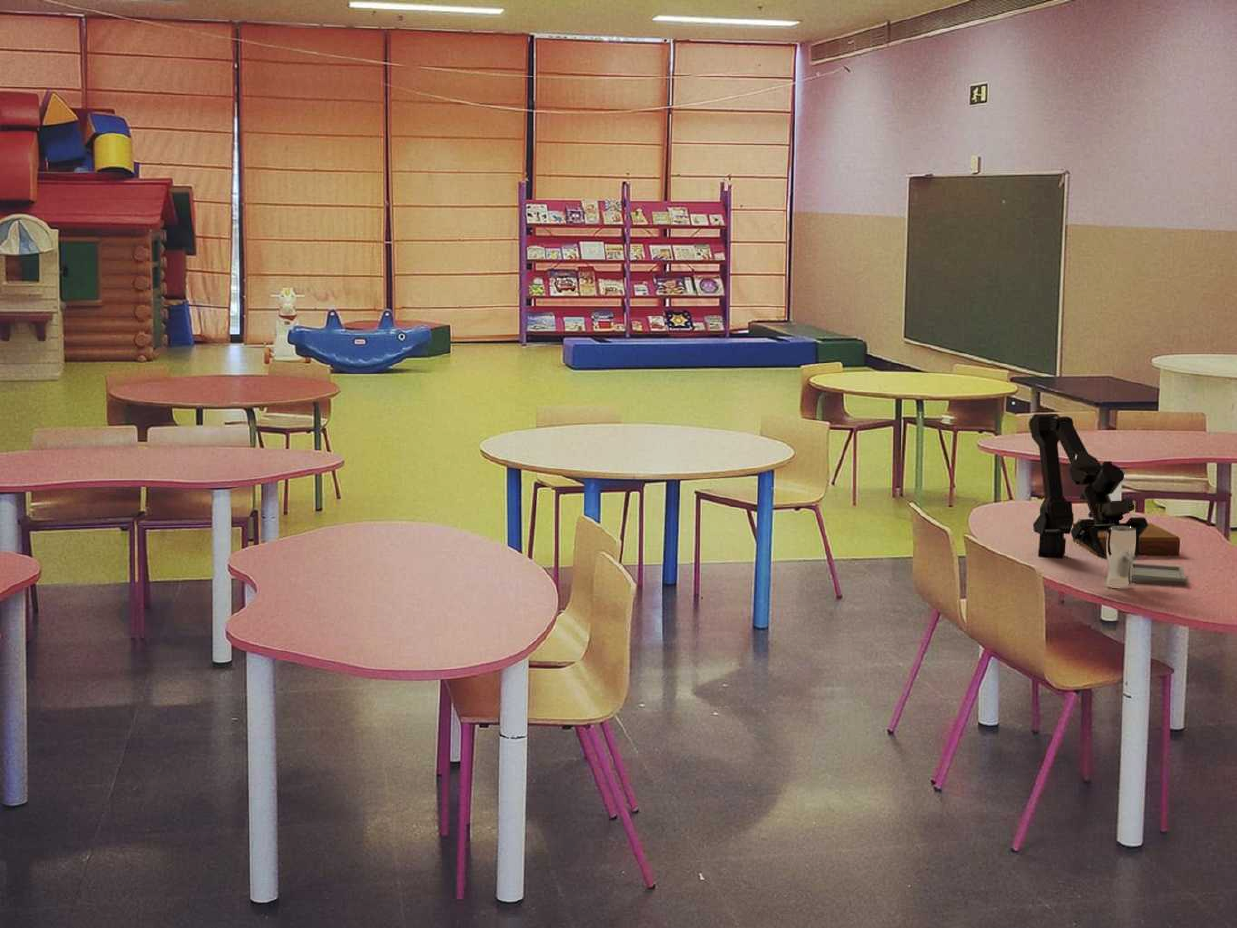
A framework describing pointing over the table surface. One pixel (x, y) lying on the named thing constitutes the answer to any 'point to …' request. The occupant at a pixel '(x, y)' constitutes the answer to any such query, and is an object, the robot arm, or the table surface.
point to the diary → (1147, 542)
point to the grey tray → (1157, 574)
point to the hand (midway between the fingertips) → (1120, 556)
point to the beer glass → (1120, 555)
